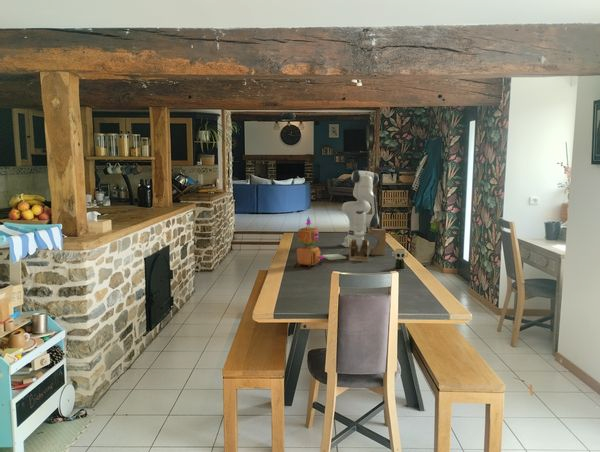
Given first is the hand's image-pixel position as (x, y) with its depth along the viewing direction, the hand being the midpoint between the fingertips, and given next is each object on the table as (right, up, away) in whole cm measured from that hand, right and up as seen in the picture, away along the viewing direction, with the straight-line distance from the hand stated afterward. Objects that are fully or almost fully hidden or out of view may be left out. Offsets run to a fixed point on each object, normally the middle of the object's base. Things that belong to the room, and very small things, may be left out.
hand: (359, 250), depth 377 cm
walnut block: (0, -4, 0) cm, 4 cm away
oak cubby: (0, -6, +1) cm, 6 cm away
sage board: (-19, -6, 0) cm, 20 cm away
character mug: (+24, -11, -35) cm, 44 cm away
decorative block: (+16, -4, +14) cm, 22 cm away
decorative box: (-37, -10, -32) cm, 50 cm away
